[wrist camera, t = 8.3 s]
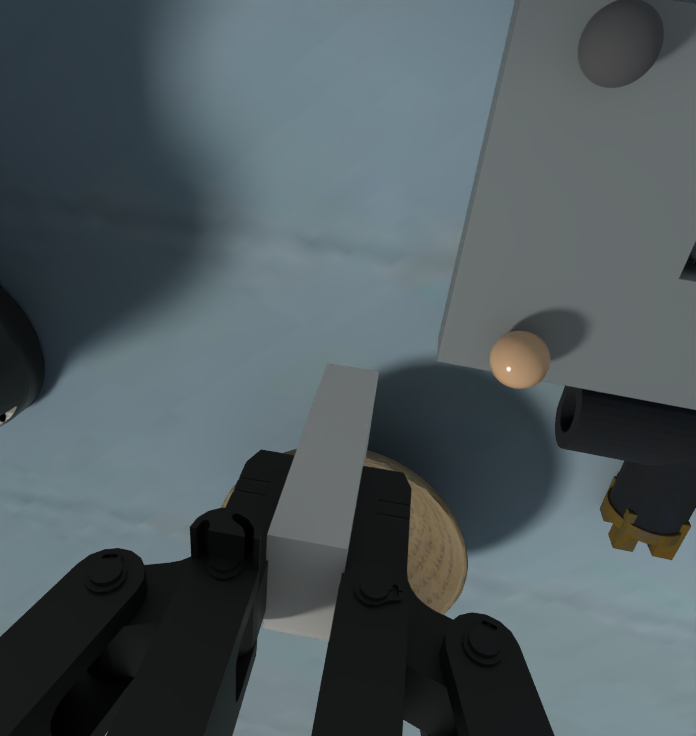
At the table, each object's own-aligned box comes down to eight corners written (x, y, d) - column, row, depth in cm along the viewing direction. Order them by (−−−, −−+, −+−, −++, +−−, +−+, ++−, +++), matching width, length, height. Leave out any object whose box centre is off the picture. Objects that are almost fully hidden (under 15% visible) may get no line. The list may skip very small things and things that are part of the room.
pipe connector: (758, 584, 38) (534, 538, 39) (725, 528, 42) (526, 488, 44) (853, 448, 32) (588, 399, 33) (802, 401, 37) (572, 360, 38)
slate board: (438, 337, 38) (436, 361, 35) (517, -11, 28) (525, -19, 25) (724, 390, 37) (748, 419, 34) (916, 40, 27) (974, 38, 24)
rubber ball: (561, 81, 27) (574, 83, 24) (585, -3, 25) (602, -11, 22) (633, 91, 27) (655, 95, 24) (662, 7, 25) (689, 0, 22)
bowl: (510, 524, 45) (520, 608, 38) (333, 590, 53) (315, 670, 46) (381, 351, 40) (365, 413, 33) (203, 453, 47) (160, 520, 40)
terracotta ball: (482, 365, 35) (484, 393, 32) (495, 316, 33) (499, 341, 30) (536, 375, 35) (544, 404, 32) (553, 326, 33) (563, 352, 30)
